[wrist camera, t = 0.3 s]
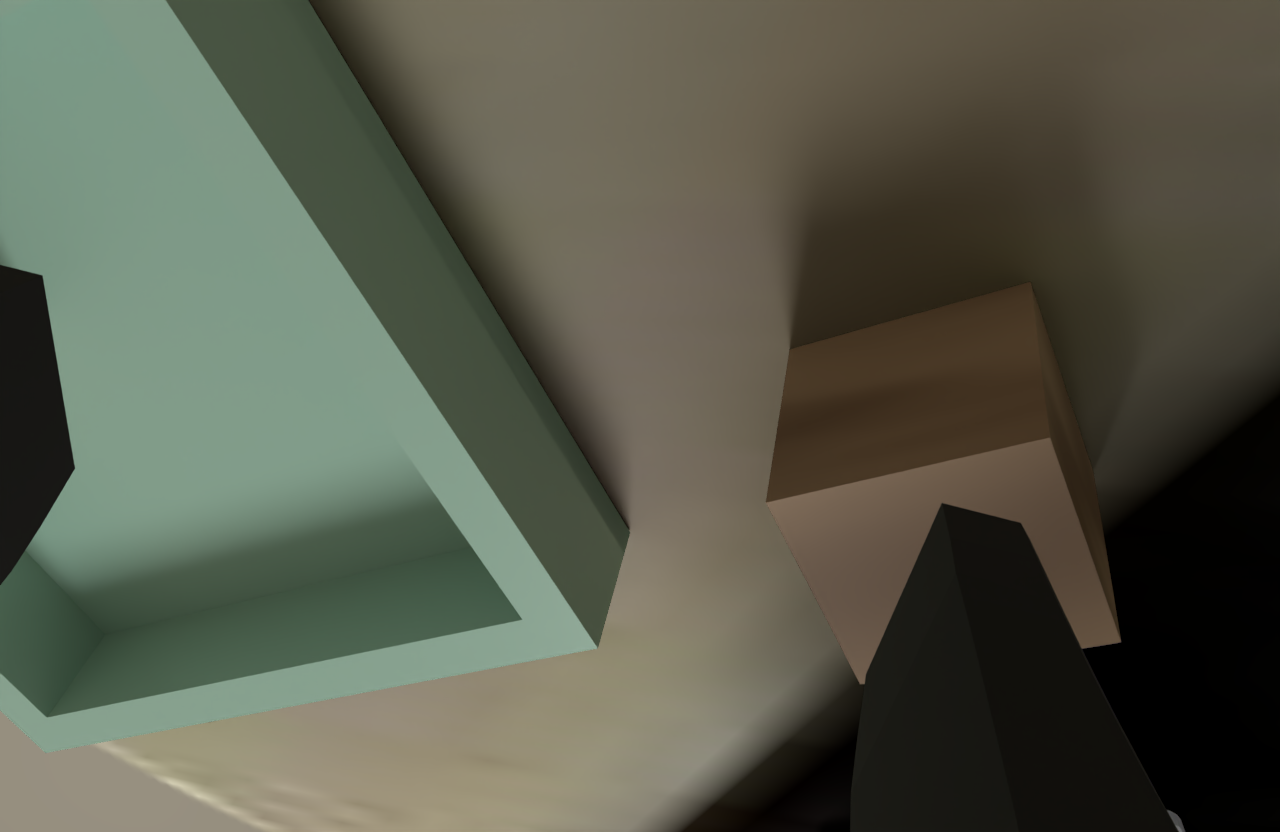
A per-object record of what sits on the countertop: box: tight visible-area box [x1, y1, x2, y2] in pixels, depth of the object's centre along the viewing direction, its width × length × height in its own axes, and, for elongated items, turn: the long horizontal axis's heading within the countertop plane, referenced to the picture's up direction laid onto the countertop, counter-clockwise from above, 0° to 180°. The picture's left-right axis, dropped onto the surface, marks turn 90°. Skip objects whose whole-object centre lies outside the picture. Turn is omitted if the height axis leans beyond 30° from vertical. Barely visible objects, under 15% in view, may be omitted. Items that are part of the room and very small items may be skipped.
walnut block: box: [766, 282, 1121, 684], centre depth 19 cm, size 4×4×4 cm
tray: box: [0, 0, 630, 753], centre depth 22 cm, size 14×14×3 cm
